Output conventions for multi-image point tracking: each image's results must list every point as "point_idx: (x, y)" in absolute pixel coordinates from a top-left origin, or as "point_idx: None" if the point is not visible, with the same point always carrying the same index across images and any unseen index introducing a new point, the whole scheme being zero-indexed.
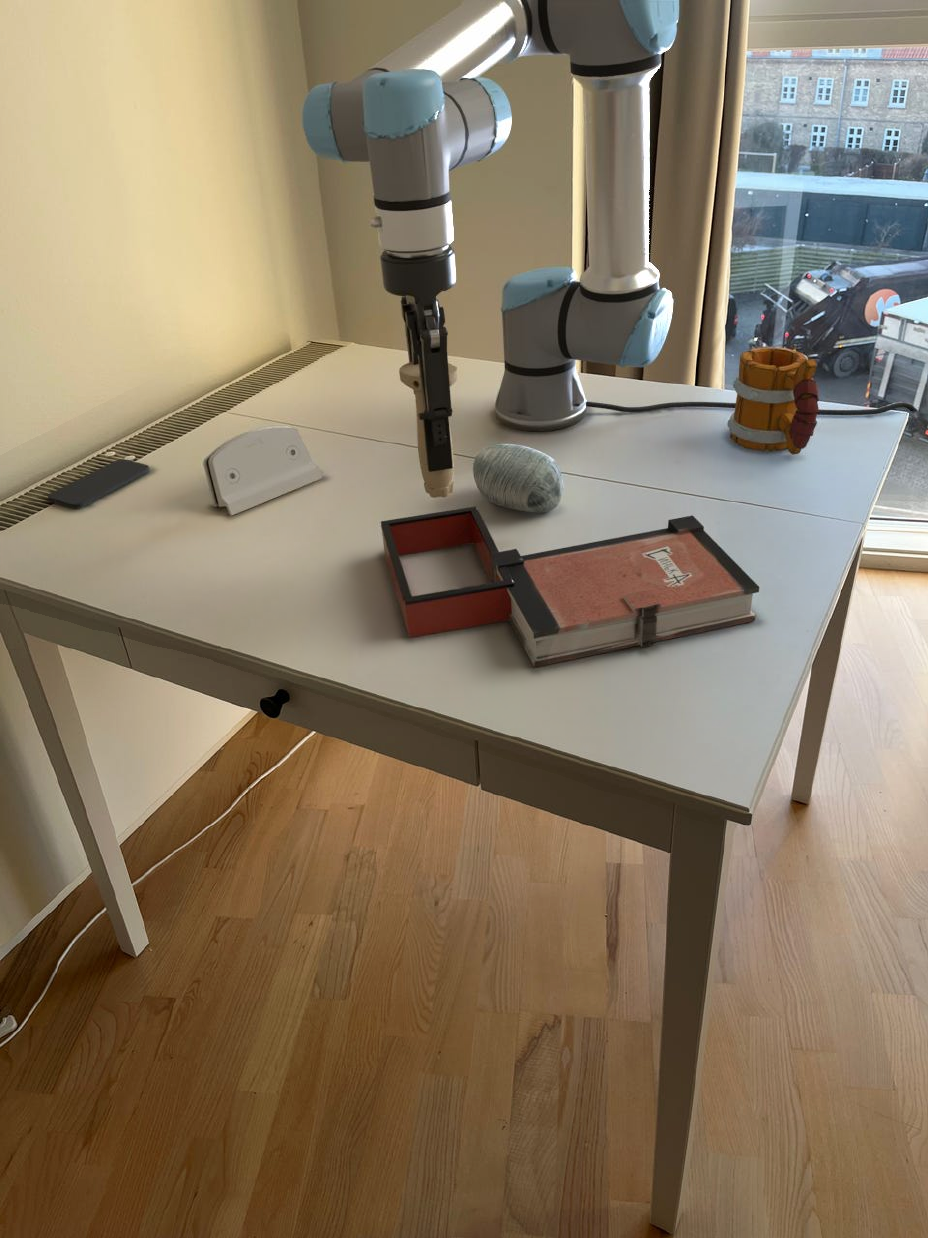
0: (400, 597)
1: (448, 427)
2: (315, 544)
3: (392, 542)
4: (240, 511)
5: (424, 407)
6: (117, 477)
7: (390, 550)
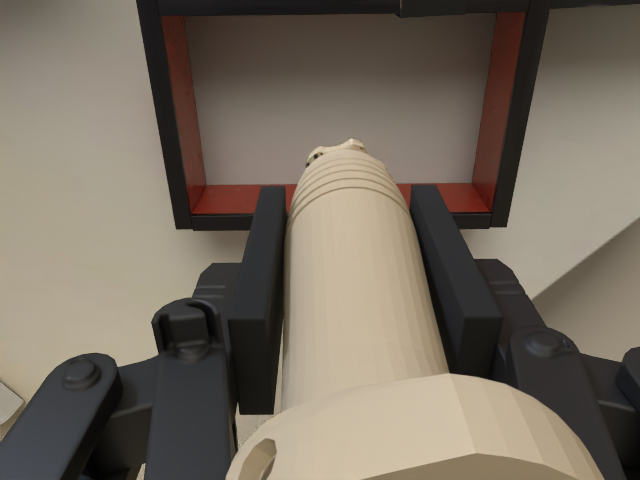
0: None
1: (478, 275)
2: (136, 297)
3: None
4: (11, 391)
5: None
6: None
7: None
